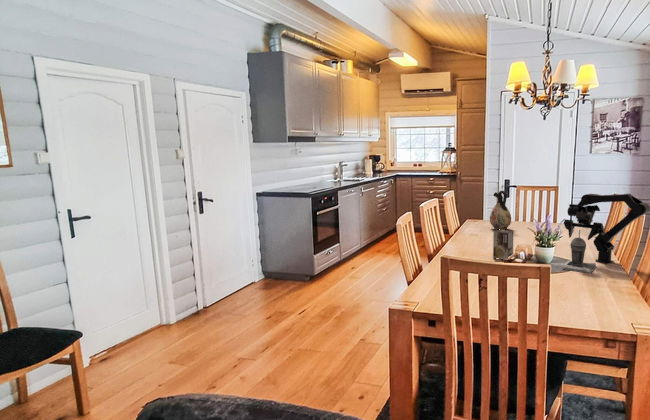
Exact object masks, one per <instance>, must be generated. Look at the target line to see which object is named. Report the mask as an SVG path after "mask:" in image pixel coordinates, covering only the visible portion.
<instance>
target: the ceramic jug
mask: <svg viewBox="0 0 650 420" xmlns="http://www.w3.org/2000/svg"><path fill="white" fill-rule="evenodd" d="M493 196H494V198H497V202H496V204H495V205H494V206H493V208H492V210H491V212H490V216H489V224H490V225H491V226H492V227H493V229H494V230H495V229H500V230H504V231H506V230H508V227H509V226H510V225H511V224H512V215H511V212H510V210H509V208H508V207H507V205H506V203H507V199H508V194H507V192H506V191H505V190H499V191H498V192H496V191H495V192H494V193H493ZM505 229H506V230H505Z"/></svg>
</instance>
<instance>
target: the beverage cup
mask: <svg viewBox="0 0 650 420" xmlns="http://www.w3.org/2000/svg"><path fill="white" fill-rule="evenodd" d="M580 236H581V229H579V230H578V237H574V238H573V239H571V242H570V245H569V246H570V250H571V253H570V254H571V261H572V266H577V267H582V265H583V262H584V260H585V253H586V249H587V248H586V247H587V243H586V241H585V239H583V238H582V237H580Z"/></svg>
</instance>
